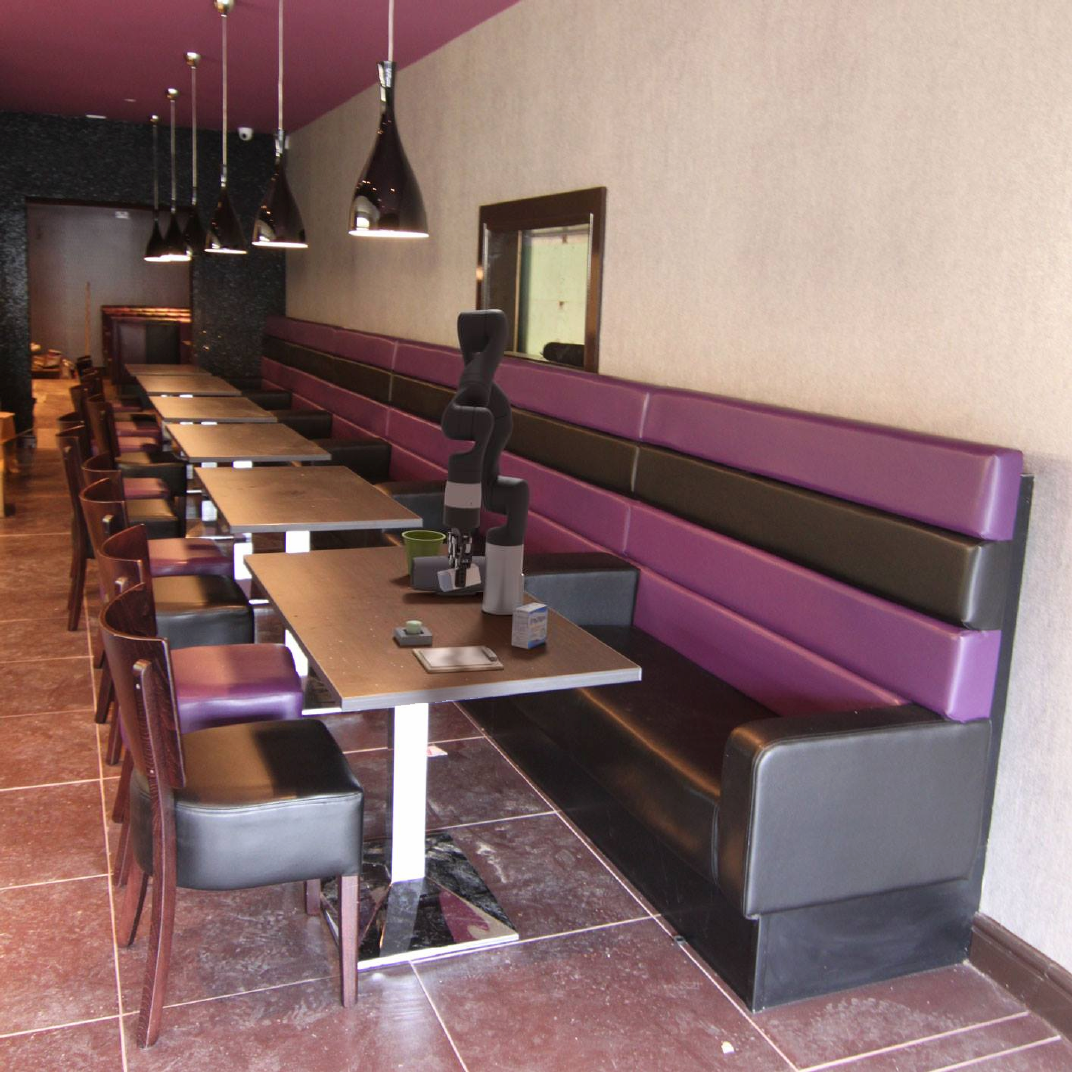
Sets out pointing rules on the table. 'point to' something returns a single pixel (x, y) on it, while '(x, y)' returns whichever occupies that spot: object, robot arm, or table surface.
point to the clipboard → (457, 659)
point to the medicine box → (529, 625)
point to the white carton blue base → (449, 578)
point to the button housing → (413, 637)
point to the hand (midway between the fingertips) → (457, 584)
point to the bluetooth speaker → (427, 576)
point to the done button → (413, 627)
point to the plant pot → (422, 544)
